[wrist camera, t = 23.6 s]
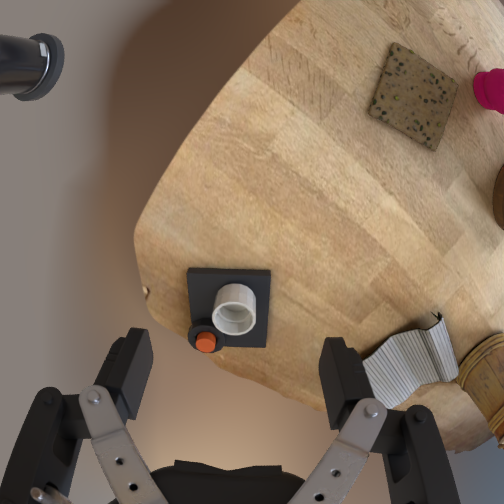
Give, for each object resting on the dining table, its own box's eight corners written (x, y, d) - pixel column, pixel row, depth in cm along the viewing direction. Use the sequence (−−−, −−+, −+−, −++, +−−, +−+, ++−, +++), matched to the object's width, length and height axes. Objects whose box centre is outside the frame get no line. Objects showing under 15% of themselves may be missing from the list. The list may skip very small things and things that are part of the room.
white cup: (216, 313, 45) (213, 334, 41) (215, 280, 43) (211, 300, 38) (254, 314, 45) (254, 335, 41) (256, 282, 43) (256, 302, 38)
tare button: (198, 344, 47) (196, 351, 45) (196, 330, 45) (194, 338, 44) (216, 345, 47) (215, 353, 45) (215, 331, 45) (214, 339, 44)
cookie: (435, 153, 35) (438, 154, 34) (366, 114, 34) (368, 114, 33) (457, 84, 30) (461, 84, 29) (392, 41, 29) (395, 39, 28)
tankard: (512, 319, 50) (564, 387, 28) (497, 374, 60) (531, 434, 37) (459, 351, 53) (505, 433, 31) (449, 401, 63) (479, 468, 40)
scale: (193, 337, 50) (189, 351, 47) (185, 267, 44) (180, 279, 41) (265, 340, 50) (266, 355, 47) (270, 270, 44) (271, 282, 41)
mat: (328, 368, 53) (332, 387, 49) (433, 303, 47) (444, 318, 43) (370, 411, 61) (375, 426, 57) (454, 361, 55) (462, 375, 51)
